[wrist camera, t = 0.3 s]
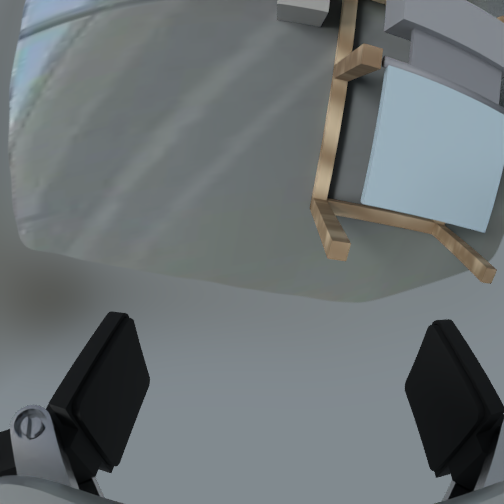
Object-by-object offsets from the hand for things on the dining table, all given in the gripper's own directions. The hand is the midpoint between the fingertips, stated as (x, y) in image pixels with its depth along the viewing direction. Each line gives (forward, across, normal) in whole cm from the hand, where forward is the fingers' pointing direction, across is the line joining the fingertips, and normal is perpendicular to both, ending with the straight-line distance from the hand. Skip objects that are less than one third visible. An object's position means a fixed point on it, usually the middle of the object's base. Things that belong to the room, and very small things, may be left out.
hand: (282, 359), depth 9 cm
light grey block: (+30, -3, -21) cm, 37 cm away
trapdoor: (+21, -15, -10) cm, 28 cm away
